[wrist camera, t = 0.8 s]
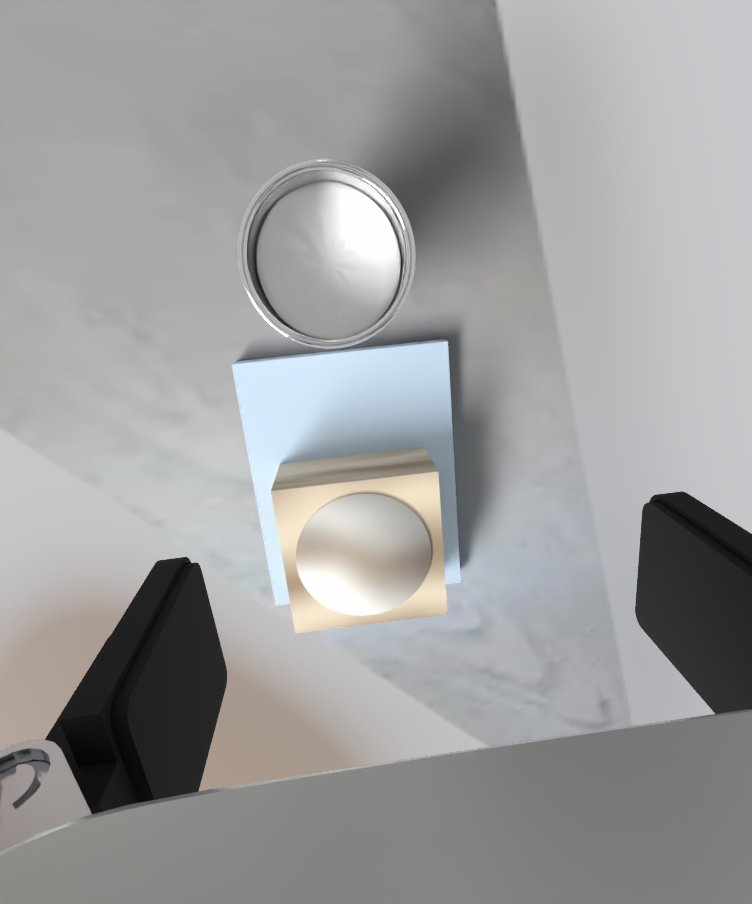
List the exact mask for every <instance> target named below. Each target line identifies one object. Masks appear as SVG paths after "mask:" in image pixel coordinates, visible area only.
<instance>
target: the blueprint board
mask: <svg viewBox="0 0 752 904" xmlns="http://www.w3.org/2000/svg"><path fill="white" fill-rule="evenodd" d="M232 370H233V375H234V381H235V386H236V392H237V397H238V403H239V408H240V414H241V419H242V425H243V430H244V436H245V441H246V446H247V452H248V457H249V463H250V468H251V474H252V479H253V485H254V490H255V496H256V501H257V507H258V512H259V518H260V523H261V529H262V534H263V540H264V545H265V551H266V556H267V561H268V567H269V572H270V578H271V583H272V589H273V594H274V600H275V605H276V606H277V605H284V604H290V599H289V593H288V588H287V582H286V576H285V570H284V564H283V559H282V553H281V547H280V541H279V535H278V530H277V524H276V518H275V512H274V506H273V500H272V495H271V489H272V486H273V483H274V480H275V477H276V474H277V471H278V468H279V464H283V463H291V462H300V461H309V460H317V459H326V458H335V457H343V456H352V455H361V454H369V453H378V452H387V451H395V450H404V449H413V448H421V447H425V449H426V450H427V452H428V454H429V456H430V457H431V459H432V461H433V463H434V465H435V466H436V468H437V470H438V473H439V489H440V505H441V520H442V536H443V552H444V567H445V583H446V584H450V583H458V582H461V579H460V560H459V541H458V522H457V503H456V485H455V466H454V447H453V428H452V409H451V391H450V372H449V353H448V341H446V340H444V339H440V340H431V341H421V342H412V343H403V344H393V345H384V346H374V347H365V348H356V349H346V350H337V351H328V352H318V353H309V354H300V355H290V356H281V357H272V358H262V359H253V360H243V361H236V362H234V363H233V364H232Z"/></svg>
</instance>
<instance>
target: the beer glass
mask: <svg viewBox="0 0 752 904" xmlns="http://www.w3.org/2000/svg"><path fill="white" fill-rule="evenodd" d="M237 259H238V267H239V272H240V276H241V280H242V283H243V286H244V289H245V291H246V293H247V295H248V297H249V299H250V301H251V303H252V304H253V306H254V307H255V309H256V310H257V312H258V313H259V314H260V315H261V317H262V318H263V319H264V320H265V321H266V322H267V323H268V324H269V325H270V326H271V327H273V328H274V329H275V330H276V331H278V332H279V333H281V334H282V335H284V336H285V337H287V338H289V339H291V340H293V341H295V342H297V343H300V344H303V345H306V346H310V347H315V348H323V349H335V348H344V347H349V346H352V345H356V344H358V343H361V342H363V341H365V340H368V339H369V338H371V337H373V336H374V335H376V334H377V333H379V332H380V331H381V330H383V329H384V328H385V327H386V326H387V325H388V324H389V323H390V322H391V321H392V320H393V319H394V318H395V316H396V315H397V314H398V312H399V311H400V310H401V308H402V306H403V305H404V303H405V301H406V299H407V297H408V294H409V292H410V289H411V286H412V283H413V278H414V273H415V265H416V248H415V240H414V235H413V231H412V227H411V224H410V221H409V219H408V216H407V214H406V212H405V210H404V208H403V206H402V205H401V203H400V201H399V200H398V199H397V197H396V196H395V194H394V193H393V192H392V191H391V190H390V189H389V188H388V186H387V185H386V184H385V183H383V182H382V181H381V180H380V179H379V178H377V177H376V176H375V175H373V174H372V173H370V172H369V171H367V170H365V169H363V168H361V167H359V166H357V165H354V164H352V163H349V162H345V161H341V160H335V159H312V160H306V161H302V162H299V163H296V164H293V165H291V166H288V167H286V168H284V169H283V170H281V171H279V172H278V173H276V174H275V175H273V176H272V177H271V178H270V179H269V180H267V181H266V182H265V183H264V184H263V185H262V186H261V187H260V189H259V190H258V191H257V192H256V194H255V195H254V196H253V198H252V200H251V201H250V203H249V205H248V207H247V209H246V211H245V213H244V216H243V219H242V222H241V225H240V229H239V234H238V243H237Z"/></svg>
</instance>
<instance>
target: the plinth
mask: <svg viewBox="0 0 752 904" xmlns="http://www.w3.org/2000/svg"><path fill="white" fill-rule="evenodd" d="M271 495H272V500H273V506H274V512H275V518H276V524H277V530H278V535H279V541H280V547H281V553H282V559H283V564H284V570H285V576H286V582H287V588H288V593H289V599H290V605H291V611H292V617H293V622H294V628H295V633H302V632H311V631H319V630H326V629H334V628H342V627H350V626H357V625H365V624H373V623H381V622H388V621H396V620H404V619H412V618H419V617H427V616H435V615H443V614H447V599H446V583H445V567H444V552H443V536H442V520H441V505H440V489H439V473H438V470H437V468H436V466H435V465H434V463H433V461H432V459H431V457H430V456H429V454H428V452H427V450H426V449H425V447H421V448H413V449H404V450H395V451H387V452H378V453H369V454H361V455H352V456H343V457H335V458H326V459H317V460H309V461H300V462H291V463H283V464H279V468H278V471H277V474H276V477H275V480H274V483H273V486H272V489H271Z"/></svg>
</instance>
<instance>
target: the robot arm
mask: <svg viewBox="0 0 752 904" xmlns="http://www.w3.org/2000/svg"><path fill="white" fill-rule="evenodd" d="M635 613H636V617H637V620H638V623H639V625H640V626H641V628H642V629H643V630H644V631H645V633H646V634H647V635H648V636H649V637H650V638H651V639H652V641H653V642H654V643H655V644H656V645H657V646H658V648H659V649H660V650H661V651H662V652H663V653H664V655H665V656H666V657H667V658H668V659H669V660H670V662H671V663H672V664H673V665H674V666H675V667H676V669H677V670H678V671H679V672H680V673H681V674H682V675H683V677H684V678H685V679H686V680H687V681H688V682H689V684H690V685H691V686H692V687H693V688H694V689H695V690H696V692H697V693H698V694H699V695H700V696H701V698H702V699H703V700H704V701H705V702H706V703H707V704H708V706H709V707H710V708H711V709H712V710H713V712H715V714H713V715H705V716H699V717H691V718H685V719H678V720H670V721H664V722H656V723H649V724H642V725H635V726H628V727H621V728H614V729H607V730H600V731H593V732H587V733H580V734H573V735H566V736H559V737H552V738H546V739H539V740H532V741H525V742H518V743H512V744H505V745H498V746H491V747H485V748H478V749H472V750H465V751H458V752H451V753H445V754H438V755H431V756H425V757H418V758H411V759H405V760H398V761H392V762H386V763H379V764H373V765H366V766H359V767H354V768H347V769H340V770H333V771H327V772H320V773H314V774H307V775H302V776H294V777H288V778H282V779H275V780H268V781H262V782H255V783H249V784H242V785H236V786H230V787H222V788H216V789H210V790H205V791H199V792H198V790H199V787H200V783H201V779H202V775H203V772H204V768H205V764H206V760H207V757H208V753H209V749H210V745H211V742H212V737H213V734H214V730H215V726H216V723H217V719H218V714H219V711H220V707H221V703H222V700H223V696H224V692H225V688H226V683H227V670H226V665H225V661H224V657H223V653H222V649H221V646H220V641H219V637H218V633H217V630H216V626H215V622H214V618H213V614H212V610H211V606H210V602H209V599H208V594H207V590H206V587H205V583H204V579H203V575H202V571H201V568H200V565H199V564H198V563H191V562H190V560H189V558H187V557H182V558H176V559H167V560H160V561H157V562H156V563H155V565H154V567H153V568H152V570H151V571H150V573H149V575H148V576H147V578H146V580H145V581H144V583H143V584H142V586H141V588H140V589H139V591H138V592H137V594H136V596H135V597H134V599H133V600H132V602H131V604H130V605H129V607H128V609H127V610H126V612H125V614H124V615H123V617H122V618H121V620H120V621H119V623H118V625H117V626H116V628H115V630H114V631H113V633H112V634H111V636H110V637H109V638H108V639H107V641H106V642H105V644H104V646H103V647H102V649H101V651H100V652H99V654H98V655H97V657H96V659H95V660H94V662H93V663H92V665H91V667H90V668H89V670H88V671H87V673H86V675H85V676H84V678H83V679H82V681H81V683H80V684H79V686H78V687H77V689H76V691H75V692H74V694H73V695H72V697H71V699H70V700H69V702H68V703H67V705H66V707H65V708H64V710H63V712H62V713H61V715H60V716H59V718H58V719H57V721H56V723H55V724H54V726H53V728H52V729H51V731H50V732H49V734H48V736H47V737H46V739H45V740H44V739H42V740H28V741H25V742H22V743H18V744H15V745H11V746H10V747H7V748H5V749H3V750H1V751H0V904H752V534H751V533H749V532H748V531H746V530H744V529H743V528H741V527H739V526H738V525H737V524H735V523H733V522H732V521H730V520H729V519H727V518H725V517H724V516H722V515H721V514H719V513H717V512H715V511H714V510H713V509H711V508H709V507H708V506H706V505H705V504H703V503H701V502H700V501H698V500H697V499H695V498H694V497H692V496H690V495H689V494H687V493H685V492H675V493H667V494H659V495H654V496H653V497H652V498H651V500H650V502H649V503H646V504H645V505H644V507H643V511H642V524H641V537H640V551H639V565H638V579H637V593H636V606H635Z"/></svg>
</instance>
